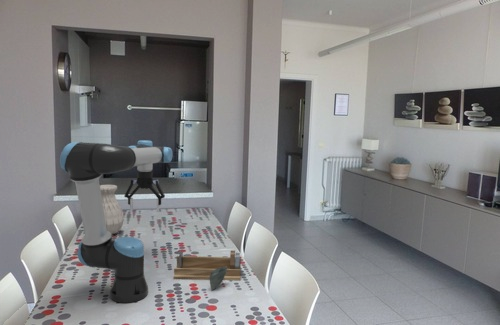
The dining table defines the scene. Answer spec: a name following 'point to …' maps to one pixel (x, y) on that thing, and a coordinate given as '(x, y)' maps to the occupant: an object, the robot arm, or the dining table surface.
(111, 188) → the vase
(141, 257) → the robot arm
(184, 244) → the dining table surface
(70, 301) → the dining table surface
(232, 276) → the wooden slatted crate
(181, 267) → the bookend
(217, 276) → the stone
